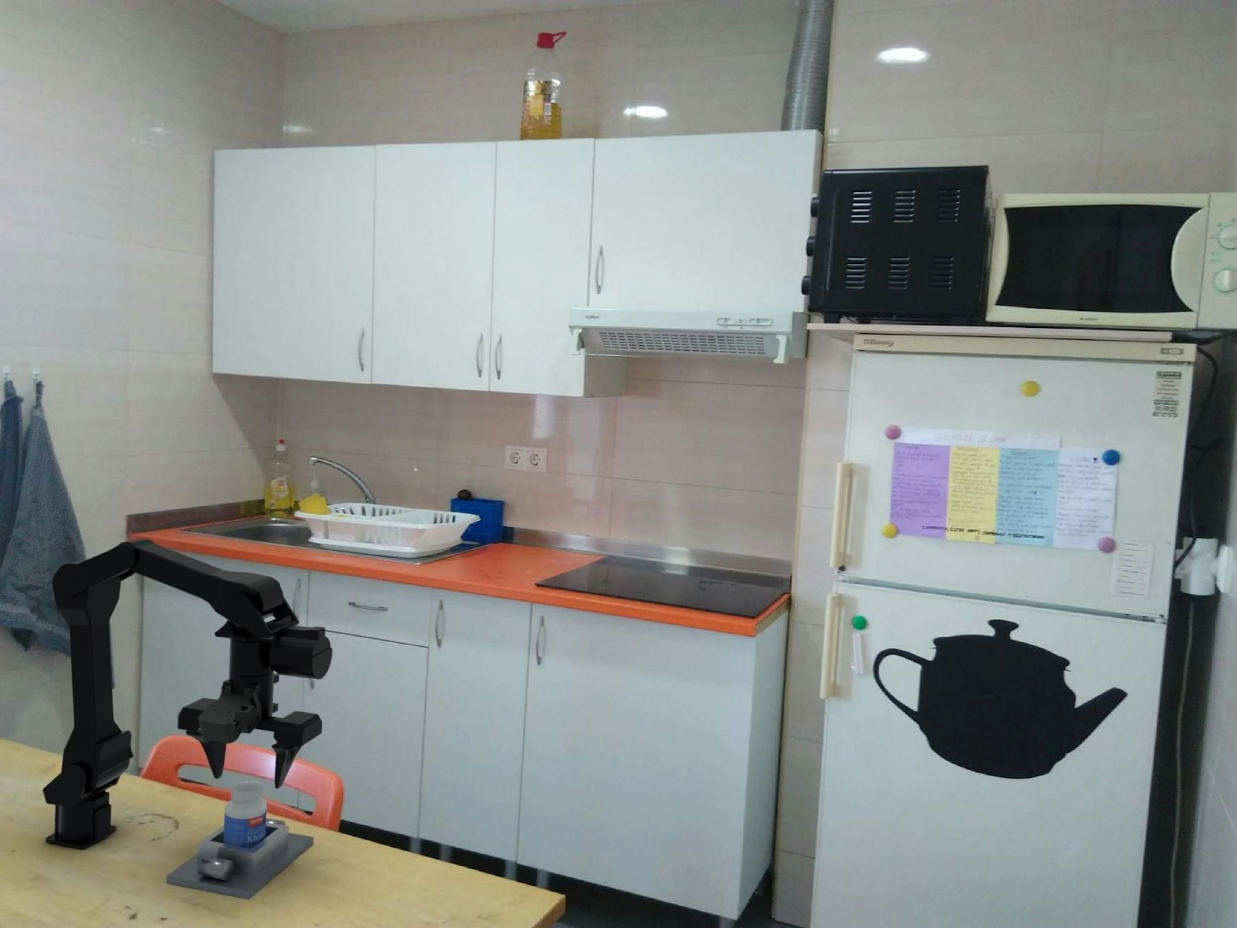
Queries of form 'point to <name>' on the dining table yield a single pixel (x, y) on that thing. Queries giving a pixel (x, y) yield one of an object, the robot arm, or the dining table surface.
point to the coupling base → (240, 862)
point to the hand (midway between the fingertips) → (248, 782)
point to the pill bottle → (245, 815)
